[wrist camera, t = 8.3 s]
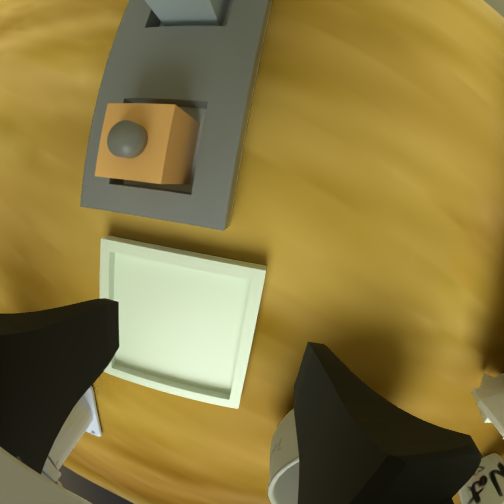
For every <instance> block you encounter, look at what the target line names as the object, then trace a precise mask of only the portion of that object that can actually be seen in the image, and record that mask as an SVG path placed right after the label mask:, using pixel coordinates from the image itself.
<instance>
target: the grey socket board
mask: <svg viewBox="0 0 504 504" xmlns="http://www.w3.org/2000/svg"><path fill="white" fill-rule="evenodd" d="M272 1H273V0H230V1H229V4H228V8H227V11H226V15H225V18H224V22H223V25H222V26H198V25H194V26H164V25H163V23H162V22H161V21H160V19H159V18H158V17H157V15H156V14H155V13H154V12H153V10H152V9H151V8H150V7H149V5H148V4H147V3H146V1H145V0H129V3H128V5H127V8H126V10H125V12H124V15H123V18H122V20H121V23H120V25H119V28H118V31H117V34H116V37H115V39H114V42H113V45H112V48H111V51H110V55H109V58H108V61H107V64H106V68H105V71H104V75H103V78H102V82H101V86H100V90H99V94H98V98H97V102H96V107H95V111H94V116H93V120H92V125H91V131H90V136H89V142H88V148H87V154H86V161H85V168H84V176H83V184H82V194H81V205H80V206H81V207H87V208H93V209H100V210H106V211H112V212H118V213H124V214H130V215H136V216H142V217H148V218H154V219H160V220H166V221H172V222H178V223H184V224H189V225H195V226H201V227H206V228H212V229H218V230H223V231H224V230H225V229H226V228H228V227H229V226H230V223H231V217H232V211H233V205H234V199H235V193H236V187H237V181H238V175H239V169H240V164H241V158H242V152H243V147H244V141H245V136H246V130H247V125H248V119H249V114H250V109H251V103H252V98H253V93H254V88H255V83H256V78H257V73H258V68H259V63H260V58H261V53H262V48H263V43H264V38H265V33H266V29H267V24H268V19H269V15H270V10H271V6H272ZM108 103H149V104H174V105H177V106H178V107H179V108H181V109H182V110H183V111H184V112H186V113H187V114H188V115H189V116H191V117H192V118H193V119H194V120H196V121H197V122H198V123H199V124H200V127H199V132H198V137H197V142H196V148H195V153H194V159H193V165H192V171H191V177H190V183H189V184H156V183H148V182H141V181H132V180H124V179H115V178H106V177H97V176H95V170H96V163H97V156H98V150H99V144H100V138H101V133H102V128H103V123H104V118H105V113H106V109H107V104H108Z"/></svg>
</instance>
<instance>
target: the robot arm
mask: <svg viewBox="0 0 504 504" xmlns="http://www.w3.org/2000/svg"><path fill="white" fill-rule="evenodd" d="M119 347H120V346H119V302H117V301H114V300H110V299H107V298H101V299H95V300H90V301H85V302H81V303H76V304H72V305H68V306H63V307H58V308H53V309H48V310H43V311H37V312H29V313H16V314H0V504H92V503H90V502H88V501H87V500H85V499H83V498H81V497H79V496H78V495H76V494H74V493H72V492H70V491H68V490H66V489H64V488H63V487H62V484H61V483H60V482H59V481H58V479H59V477H60V476H61V473H60V472H59V471H58V469H59V468H60V467H61V465H62V464H63V462H64V461H65V460H66V458H67V457H68V455H69V454H70V452H71V451H72V450H73V448H74V447H75V445H76V444H77V443H78V441H79V440H80V438H81V437H82V436H83V434H84V433H85V431H87V432H89V433H91V434H93V435H96V436H98V437H100V436H101V435H102V431H101V427H100V422H99V418H98V413H97V408H96V402H95V397H94V391H93V387H92V386H91V385H92V384H93V383H94V382H95V381H96V379H97V378H98V377H99V376H100V375H101V373H102V372H103V371H104V370H105V369H106V367H107V366H108V365H109V363H110V362H111V360H112V359H113V357H114V355H115V354H116V352H117V350H118V348H119ZM294 416H295V425H296V434H297V443H298V452H299V489H298V504H454V503H453V500H452V497H453V496H454V495H455V494H456V493H457V492H458V491H459V490H460V489H461V488H462V487H463V486H464V485H465V484H466V483H467V482H468V481H469V480H470V478H471V477H472V476H473V475H474V474H475V472H476V471H477V469H478V467H479V465H480V463H481V458H482V455H481V453H480V451H479V450H478V448H477V446H476V445H475V443H474V441H473V440H472V438H471V436H470V435H467V434H463V433H459V432H455V431H452V430H448V429H445V428H441V427H439V426H436V425H433V424H431V423H428V422H426V421H423V420H421V419H419V418H417V417H415V416H413V415H411V414H409V413H407V412H405V411H403V410H402V409H400V408H398V407H396V406H395V405H393V404H391V403H390V402H388V401H387V400H385V399H384V398H383V397H381V396H380V395H378V394H377V393H376V392H374V391H373V390H372V389H370V388H369V387H368V386H367V385H366V384H365V383H363V382H362V381H361V380H360V379H359V378H358V377H357V376H356V375H354V374H353V373H352V372H351V371H350V370H349V369H348V368H347V367H346V366H345V365H344V364H343V363H342V362H341V361H340V360H339V359H338V357H337V356H336V355H335V354H334V353H333V352H332V351H331V350H330V349H329V348H328V347H327V346H326V345H324V344H319V343H312V342H308V343H307V346H306V350H305V353H304V356H303V360H302V363H301V366H300V370H299V373H298V376H297V379H296V382H295V385H294Z"/></svg>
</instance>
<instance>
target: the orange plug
mask: <svg viewBox="0 0 504 504" xmlns="http://www.w3.org/2000/svg"><path fill="white" fill-rule="evenodd" d="M199 127H200V124H199V123H198V122H197V121H196V120H194V119H193V118H192V117H191V116H189V115H188V114H187V113H186V112H184V111H183V110H182V109H181V108H179V107H178V106H177V105H174V104H149V103H108V104H107V109H106V113H105V118H104V123H103V128H102V133H101V138H100V144H99V150H98V156H97V163H96V170H95V176H97V177H106V178H115V179H124V180H132V181H141V182H148V183H156V184H189V183H190V177H191V171H192V165H193V159H194V153H195V148H196V142H197V137H198V132H199Z"/></svg>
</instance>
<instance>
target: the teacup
mask: <svg viewBox="0 0 504 504" xmlns="http://www.w3.org/2000/svg"><path fill="white" fill-rule="evenodd" d="M298 489H299V452H298V443H297V434H296V425H295V416H294V408H293V409H292V410H291V411H290V412H289V413H288V414H286V415H285V417H284V418H283V419H282V420H281V422H280V423H279V424H278V426H277V428H276V430H275V432H274V435H273V438H272V443H271V451H270V482H269V485H268V497H269V499H270V501H271V503H272V504H298Z"/></svg>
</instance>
